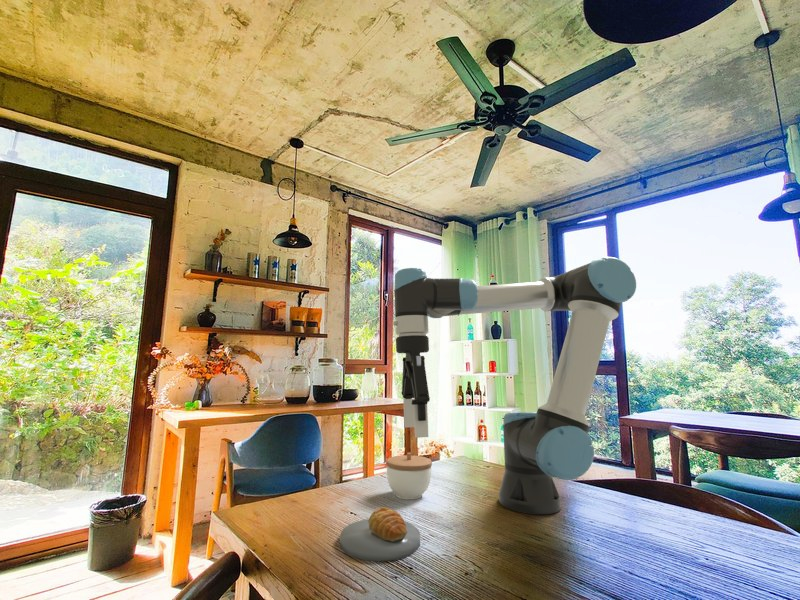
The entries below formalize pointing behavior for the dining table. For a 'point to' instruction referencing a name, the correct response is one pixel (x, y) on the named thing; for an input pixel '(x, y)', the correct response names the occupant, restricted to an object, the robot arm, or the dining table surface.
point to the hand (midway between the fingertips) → (415, 431)
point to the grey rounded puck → (377, 543)
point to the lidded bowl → (408, 475)
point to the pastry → (387, 524)
